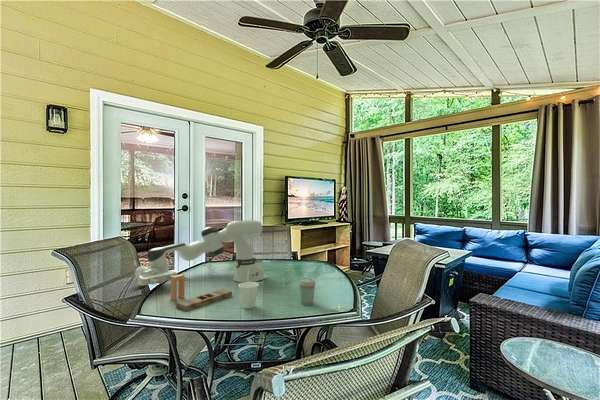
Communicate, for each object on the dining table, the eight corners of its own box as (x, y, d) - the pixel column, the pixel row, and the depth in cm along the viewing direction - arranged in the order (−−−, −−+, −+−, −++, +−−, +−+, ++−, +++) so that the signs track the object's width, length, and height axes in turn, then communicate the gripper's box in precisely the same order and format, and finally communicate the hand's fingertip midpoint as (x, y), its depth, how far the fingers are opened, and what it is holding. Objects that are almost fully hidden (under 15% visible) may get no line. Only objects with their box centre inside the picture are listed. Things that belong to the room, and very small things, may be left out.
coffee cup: (310, 307, 146) (310, 283, 146) (295, 304, 150) (295, 280, 150) (318, 302, 153) (318, 279, 153) (304, 299, 158) (304, 277, 158)
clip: (180, 296, 162) (180, 274, 162) (184, 297, 160) (184, 275, 160) (170, 299, 157) (170, 276, 157) (174, 300, 155) (174, 277, 155)
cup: (254, 311, 141) (254, 288, 141) (234, 309, 143) (235, 286, 143) (261, 304, 151) (261, 282, 150) (242, 302, 153) (243, 281, 152)
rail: (222, 293, 167) (222, 288, 167) (231, 296, 162) (231, 291, 162) (176, 307, 145) (176, 302, 145) (185, 311, 140) (185, 306, 140)
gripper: (169, 278, 182) (182, 281, 174) (134, 285, 166) (146, 290, 158) (169, 267, 182) (182, 271, 174) (134, 274, 166) (146, 278, 158)
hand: (165, 280), depth 166 cm, fingers open, 8 cm apart
